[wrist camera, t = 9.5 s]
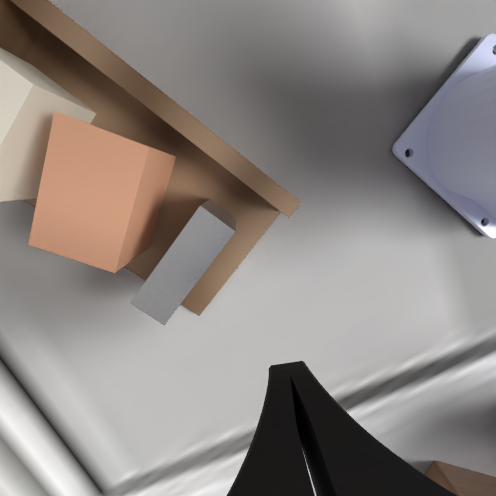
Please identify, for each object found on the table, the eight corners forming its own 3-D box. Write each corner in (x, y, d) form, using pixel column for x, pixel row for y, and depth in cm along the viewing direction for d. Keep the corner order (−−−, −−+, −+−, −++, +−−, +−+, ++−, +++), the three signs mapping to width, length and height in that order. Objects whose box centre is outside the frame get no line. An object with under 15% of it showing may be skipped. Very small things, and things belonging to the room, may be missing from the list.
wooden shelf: (289, 198, 18) (315, 208, 12) (200, 311, 20) (180, 375, 13) (33, -6, 15) (-120, -142, 9) (-45, 149, 17) (-220, 130, 10)
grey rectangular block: (237, 218, 17) (235, 231, 13) (182, 290, 18) (164, 325, 14) (210, 198, 17) (200, 205, 13) (156, 273, 18) (130, 303, 14)
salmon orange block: (176, 156, 17) (149, 147, 12) (148, 248, 18) (114, 273, 13) (110, 131, 16) (54, 110, 11) (87, 226, 18) (27, 244, 13)
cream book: (96, 113, 16) (33, 84, 11) (46, 197, 17) (-32, 204, 12) (32, 65, 15) (-65, 12, 11) (-16, 155, 16) (-124, 145, 12)
